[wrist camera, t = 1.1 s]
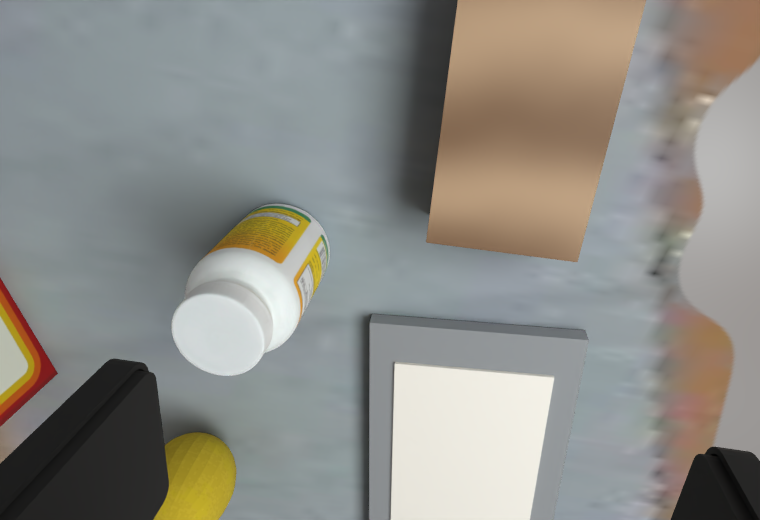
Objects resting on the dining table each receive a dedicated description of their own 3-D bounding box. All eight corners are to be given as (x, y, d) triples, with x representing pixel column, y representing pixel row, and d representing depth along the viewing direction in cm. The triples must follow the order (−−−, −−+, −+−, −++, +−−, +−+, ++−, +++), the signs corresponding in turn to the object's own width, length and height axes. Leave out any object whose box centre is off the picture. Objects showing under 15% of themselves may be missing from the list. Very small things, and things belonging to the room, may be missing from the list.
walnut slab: (463, -41, 25) (463, -47, 21) (625, -26, 24) (653, -30, 21) (430, 213, 30) (426, 242, 26) (563, 229, 30) (577, 262, 26)
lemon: (263, 429, 38) (216, 531, 31) (237, 481, 40) (187, 586, 33) (188, 394, 37) (122, 489, 30) (166, 448, 40) (100, 548, 33)
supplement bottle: (350, 259, 32) (307, 358, 23) (279, 302, 33) (215, 409, 25) (290, 181, 30) (221, 256, 21) (219, 231, 32) (129, 318, 23)
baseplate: (372, 313, 33) (369, 324, 32) (585, 330, 31) (589, 342, 30) (371, 540, 41) (368, 555, 40) (540, 561, 39) (542, 577, 38)
